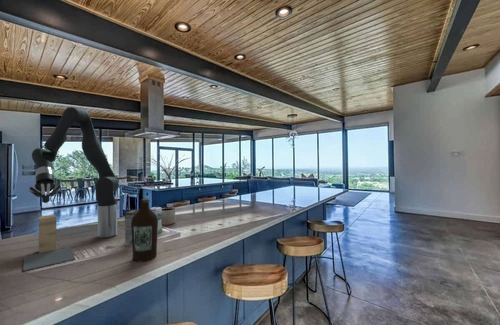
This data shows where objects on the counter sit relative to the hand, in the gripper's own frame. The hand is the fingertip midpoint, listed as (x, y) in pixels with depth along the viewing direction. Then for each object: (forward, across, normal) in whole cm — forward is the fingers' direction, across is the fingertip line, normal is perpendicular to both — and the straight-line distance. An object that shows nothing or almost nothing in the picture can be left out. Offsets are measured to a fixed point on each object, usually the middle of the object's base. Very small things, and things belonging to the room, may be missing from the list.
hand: (46, 202), depth 120 cm
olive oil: (+51, +30, -22) cm, 64 cm away
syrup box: (+27, +48, +2) cm, 55 cm away
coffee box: (+35, +34, -5) cm, 49 cm away
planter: (+16, +63, +13) cm, 66 cm away
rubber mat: (+33, 0, -3) cm, 33 cm away
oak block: (+24, 0, +7) cm, 25 cm away
